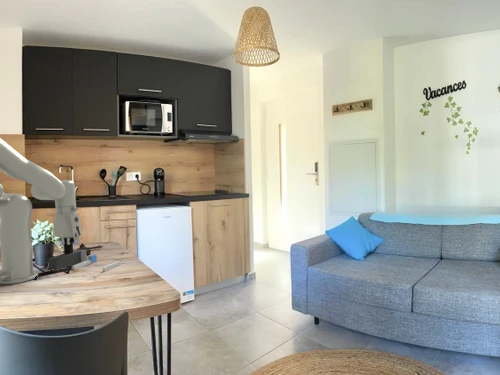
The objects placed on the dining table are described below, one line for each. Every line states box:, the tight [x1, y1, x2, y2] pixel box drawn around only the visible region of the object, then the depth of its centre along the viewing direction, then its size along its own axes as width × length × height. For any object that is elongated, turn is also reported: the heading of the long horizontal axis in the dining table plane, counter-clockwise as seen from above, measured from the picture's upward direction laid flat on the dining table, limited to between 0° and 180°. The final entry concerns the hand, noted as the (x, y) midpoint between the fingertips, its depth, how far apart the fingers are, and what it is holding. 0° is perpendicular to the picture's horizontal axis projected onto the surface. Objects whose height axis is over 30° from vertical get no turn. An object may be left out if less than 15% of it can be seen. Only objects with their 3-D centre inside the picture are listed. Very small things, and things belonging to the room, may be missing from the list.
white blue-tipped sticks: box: [72, 254, 122, 272], centre depth 144 cm, size 12×29×3 cm, turn 75°
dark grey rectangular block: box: [47, 248, 88, 271], centre depth 144 cm, size 16×5×5 cm, turn 165°
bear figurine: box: [62, 242, 104, 256], centre depth 167 cm, size 18×4×14 cm
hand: (68, 253), depth 145 cm, fingers closed
